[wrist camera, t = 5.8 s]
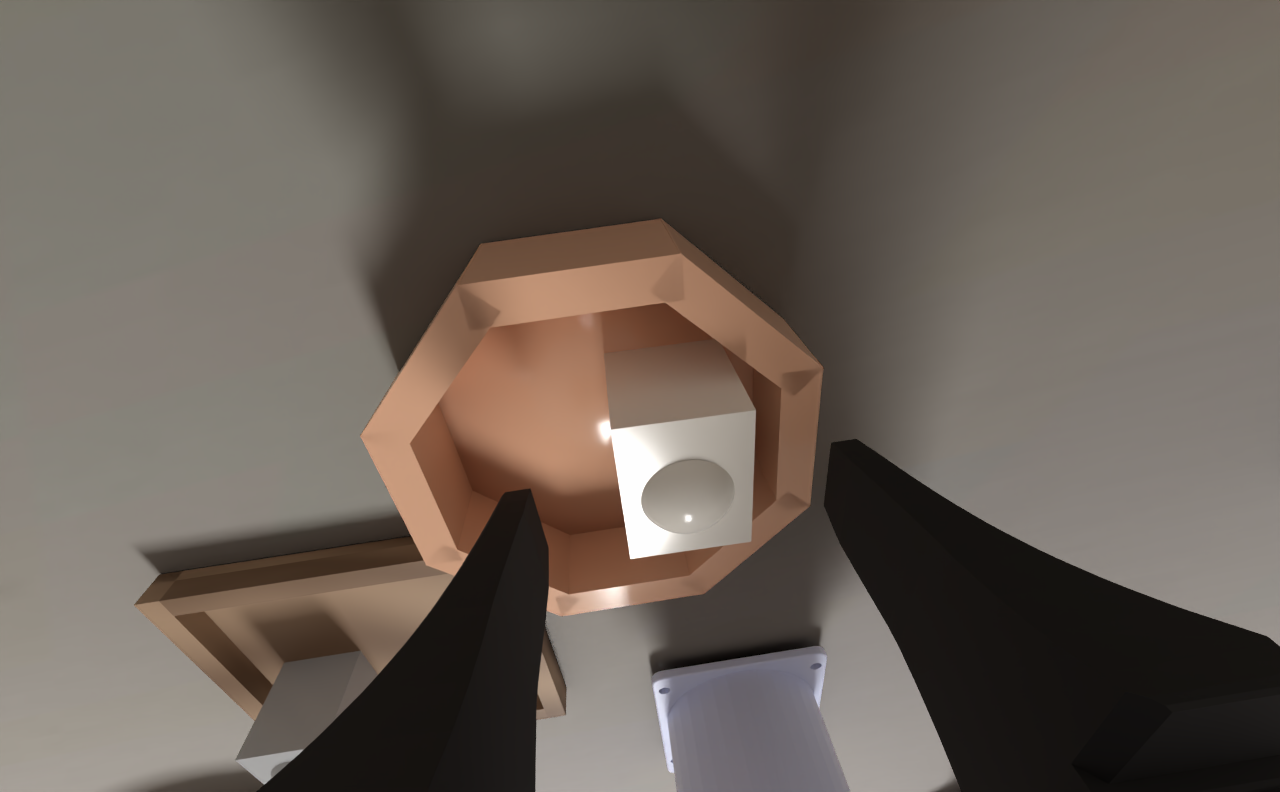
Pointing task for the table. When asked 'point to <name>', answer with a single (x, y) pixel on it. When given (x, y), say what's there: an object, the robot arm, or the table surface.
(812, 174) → the table surface
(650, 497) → the white dimple block
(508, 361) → the bowl
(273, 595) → the tray
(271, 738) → the white cube with dimple
